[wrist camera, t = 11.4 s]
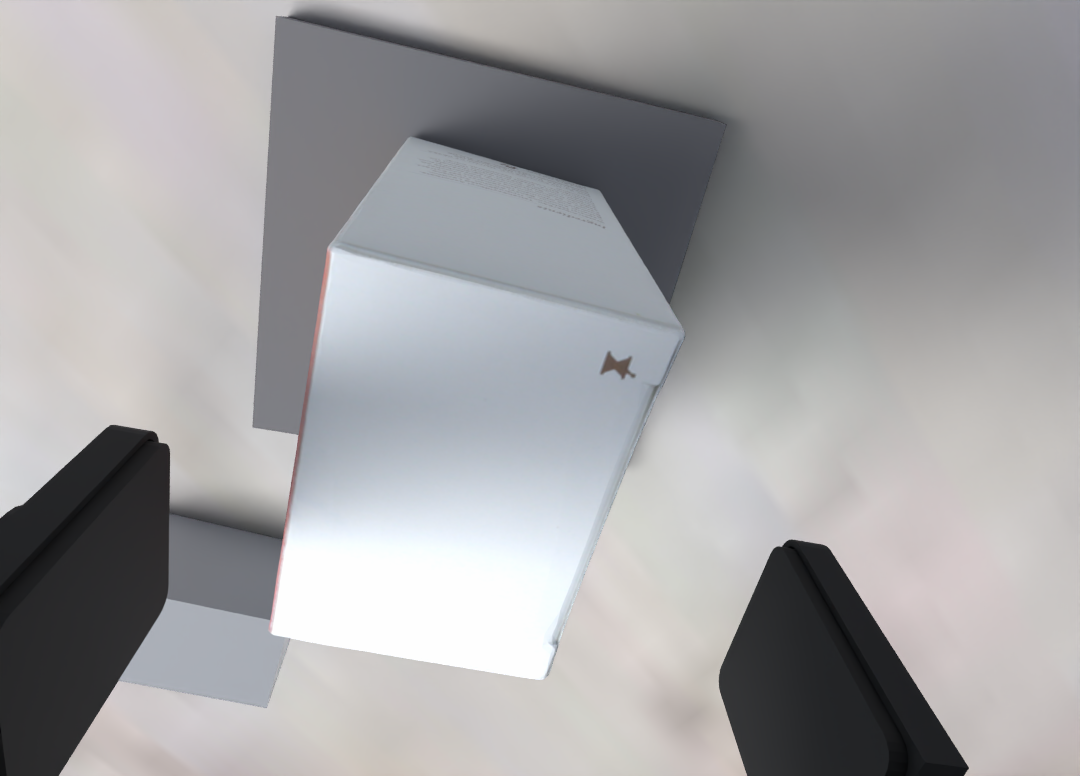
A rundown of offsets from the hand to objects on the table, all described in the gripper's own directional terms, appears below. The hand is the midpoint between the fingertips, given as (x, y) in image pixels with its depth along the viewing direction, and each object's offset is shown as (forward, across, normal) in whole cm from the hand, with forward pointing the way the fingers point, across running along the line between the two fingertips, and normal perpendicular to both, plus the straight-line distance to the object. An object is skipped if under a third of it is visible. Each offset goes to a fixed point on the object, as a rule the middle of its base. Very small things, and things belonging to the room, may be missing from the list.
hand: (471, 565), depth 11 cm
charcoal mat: (+13, +1, -1) cm, 13 cm away
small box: (+12, +1, 0) cm, 12 cm away
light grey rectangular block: (+13, +8, +12) cm, 20 cm away
